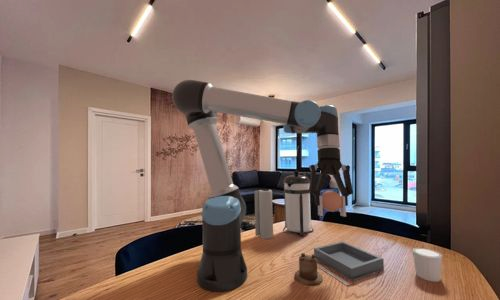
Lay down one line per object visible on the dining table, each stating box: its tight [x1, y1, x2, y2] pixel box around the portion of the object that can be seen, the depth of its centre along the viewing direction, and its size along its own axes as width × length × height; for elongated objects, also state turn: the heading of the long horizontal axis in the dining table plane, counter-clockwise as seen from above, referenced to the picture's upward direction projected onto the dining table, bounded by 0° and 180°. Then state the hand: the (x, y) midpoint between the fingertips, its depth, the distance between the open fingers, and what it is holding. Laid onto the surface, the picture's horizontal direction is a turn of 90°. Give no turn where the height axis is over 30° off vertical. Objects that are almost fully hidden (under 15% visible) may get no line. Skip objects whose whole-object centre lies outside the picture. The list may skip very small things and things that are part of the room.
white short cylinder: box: [412, 247, 443, 282], centre depth 63 cm, size 7×7×7 cm
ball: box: [320, 190, 342, 213], centre depth 73 cm, size 7×7×7 cm
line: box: [317, 263, 351, 286], centre depth 69 cm, size 1×20×1 cm, turn 25°
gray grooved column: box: [254, 189, 274, 240], centre depth 99 cm, size 7×6×21 cm
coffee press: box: [282, 169, 314, 238], centre depth 106 cm, size 17×16×30 cm
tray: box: [313, 241, 385, 282], centre depth 72 cm, size 14×16×4 cm
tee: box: [294, 252, 324, 286], centre depth 64 cm, size 8×8×6 cm
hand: (331, 215), depth 72 cm, fingers closed on ball, 7 cm apart
